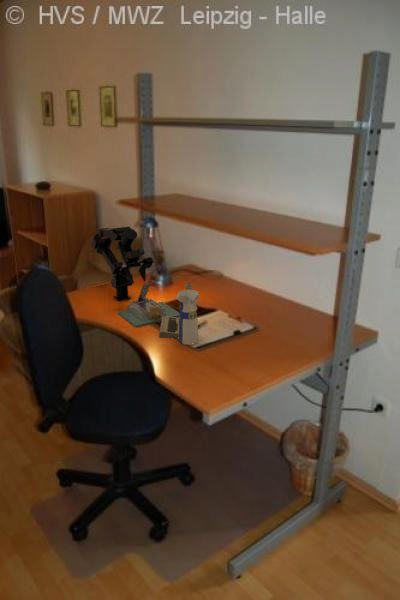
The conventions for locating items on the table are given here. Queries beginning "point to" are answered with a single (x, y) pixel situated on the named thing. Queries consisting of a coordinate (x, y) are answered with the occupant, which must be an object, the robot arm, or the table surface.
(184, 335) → the water bottle
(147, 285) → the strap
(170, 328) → the computer
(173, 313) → the board
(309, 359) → the table surface
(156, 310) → the heat sink
